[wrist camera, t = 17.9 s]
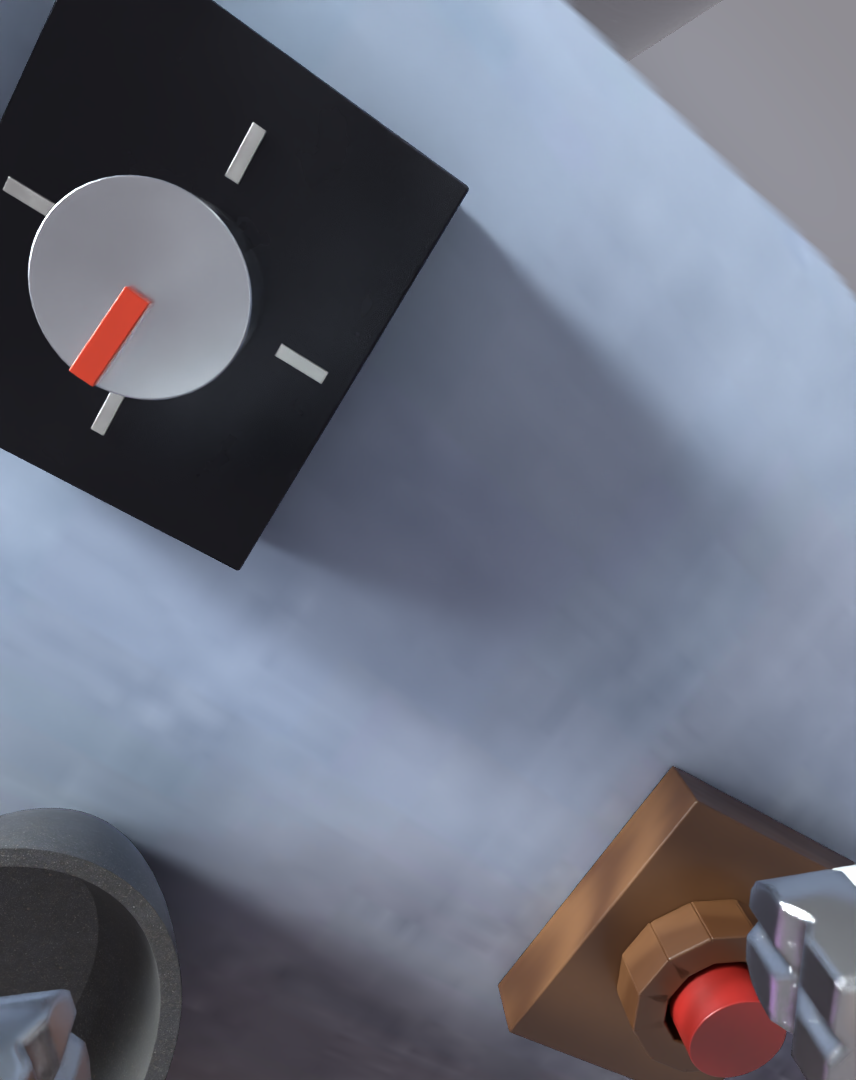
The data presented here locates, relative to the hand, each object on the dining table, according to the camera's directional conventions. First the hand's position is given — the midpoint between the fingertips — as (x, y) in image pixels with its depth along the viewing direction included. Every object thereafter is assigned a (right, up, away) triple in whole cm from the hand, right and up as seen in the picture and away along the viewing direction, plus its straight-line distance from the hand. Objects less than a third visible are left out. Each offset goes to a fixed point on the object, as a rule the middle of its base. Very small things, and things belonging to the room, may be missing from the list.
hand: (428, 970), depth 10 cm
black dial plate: (-7, +13, +13) cm, 19 cm away
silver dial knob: (-6, +12, +11) cm, 17 cm away
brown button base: (+10, -11, +24) cm, 28 cm away
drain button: (+11, -12, +20) cm, 26 cm away
